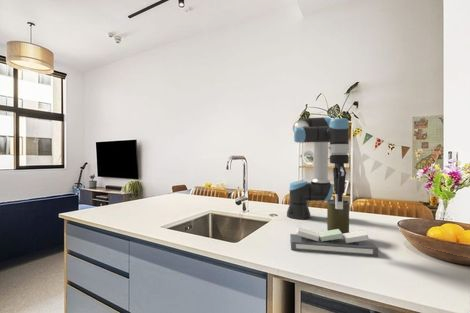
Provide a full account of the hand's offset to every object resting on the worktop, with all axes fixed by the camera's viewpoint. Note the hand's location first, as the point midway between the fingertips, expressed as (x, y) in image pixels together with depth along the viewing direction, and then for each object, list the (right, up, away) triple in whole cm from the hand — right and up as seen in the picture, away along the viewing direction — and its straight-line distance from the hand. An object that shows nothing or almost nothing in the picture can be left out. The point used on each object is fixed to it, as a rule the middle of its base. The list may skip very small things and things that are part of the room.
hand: (339, 208), depth 101 cm
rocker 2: (+6, -13, -1) cm, 14 cm away
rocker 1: (-13, -13, +3) cm, 19 cm away
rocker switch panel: (-3, -18, +1) cm, 18 cm away
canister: (+7, -18, +16) cm, 25 cm away
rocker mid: (-3, -13, +1) cm, 13 cm away
